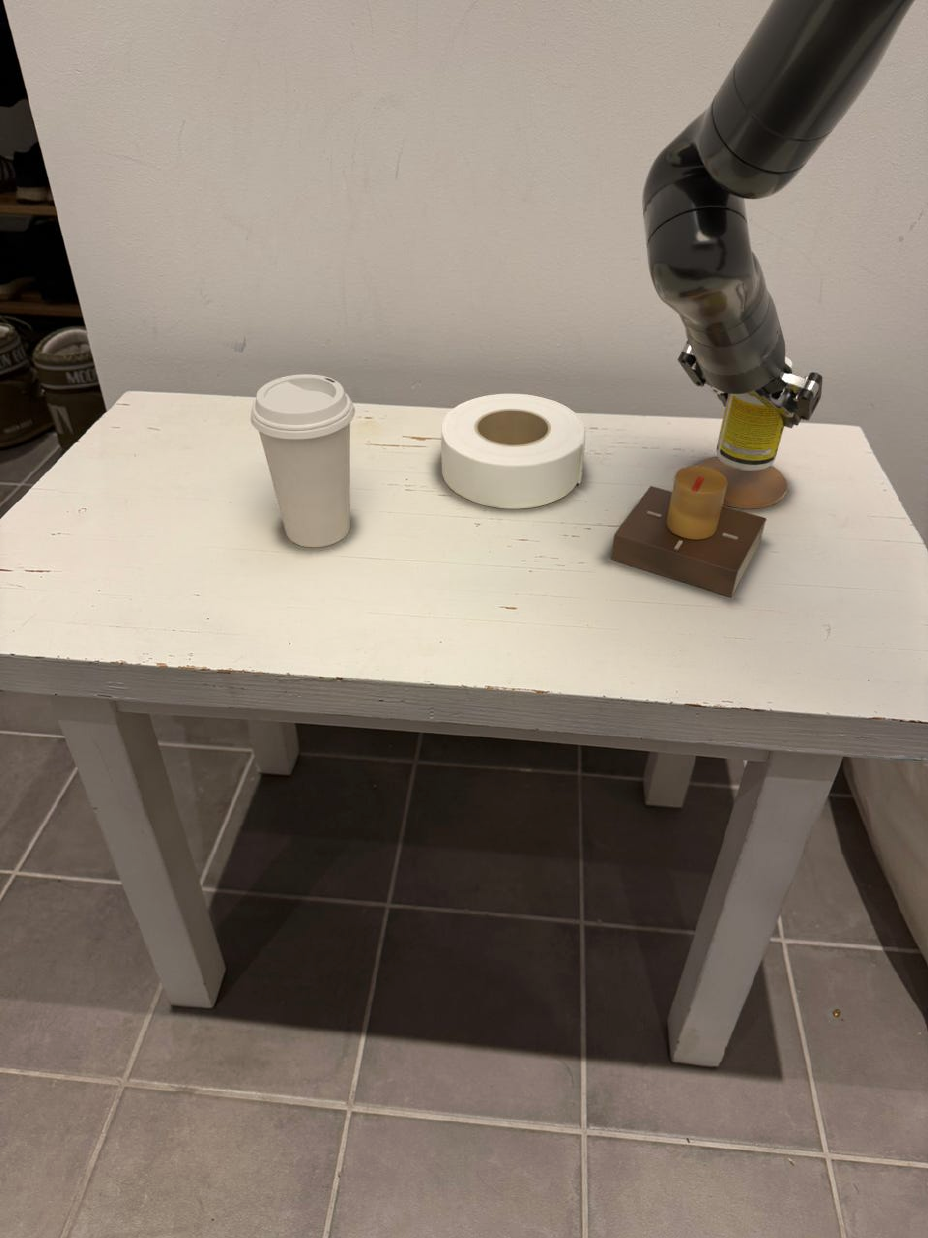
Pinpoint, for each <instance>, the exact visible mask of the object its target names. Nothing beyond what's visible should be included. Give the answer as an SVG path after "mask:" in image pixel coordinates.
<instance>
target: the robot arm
mask: <svg viewBox="0 0 928 1238" xmlns="http://www.w3.org/2000/svg"><path fill="white" fill-rule="evenodd" d="M915 1H916V0H772V1H771V3H770V4H769V6H768V7H767V9H766V11H765V12H764V15H763V16H762V17H761V19H760V21H759V23H758V24H757V26H756V28H755V29H754V31H753V32H752V34H751V36H750V38H749V39H748V41H747V42H746V44H745V45H744V47H743V49H742V50H741V52H740V53H739V55H738V57H737V59H736V60H735V62H734V63H733V65H732V67H731V68H730V70H729V72H728V73H727V75H726V76H725V78H724V80H723V82H722V83H721V85H720V86H719V88H718V90H717V92H716V94H715V95H714V96H713V99H712V101H711V102H710V104H709V106H708V107H707V108H706V109H705V110H704V111H703V112H701V113H700V114H699V115H697V117H695V119H693V120H692V121H691V122H690V123H689V124H688V125H687V126H686V127H685V128H684V129H683V130H682V131H681V132H680V133H679V134H678V135H676V136H675V138H673V139H672V140H671V141H670V142H669V143H668V144H667V145H666V146H665V147H664V148H663V149H662V150H661V151H660V152H659V154H658V155H657V156H656V157H655V159H654V161H653V162H652V164H651V166H650V168H649V170H648V172H647V175H646V178H645V182H644V185H643V189H642V195H641V209H642V218H643V226H644V227H643V228H644V236H645V245H646V257H647V265H648V271H649V275H650V278H651V282H652V285H653V287H654V289H655V292H656V294H657V296H658V298H659V299H660V300H661V302H663V303H664V304H665V305H667V306H668V307H669V308H671V309H672V310H673V311H674V312H675V313H676V314H678V316H679V318H680V320H681V322H682V324H683V327H684V329H685V336H686V339H687V340H686V342H685V344H684V346H683V348H682V350H681V351H680V353H679V356H678V358H677V362H678V363H679V364H680V366H681V367H682V369H683V370H684V372H685V373H686V374H687V376H688V377H689V379H690V380H691V382H692V383H693V384H694V385H695V386H697V387H700V388H701V387H702V388H703V387H705V384H706V385H707V386H709V387H710V388H709V391H711V392H712V393H713V394H714V395H716V396H717V398H718V400H719V401H720V402H721V403H722V404H723V405H722V406H723V407H724V408H725V407H726V403H727V399H728V394H729V393H730V394H743V393H748V394H749V395H750V396H755V397H756V398H757V399H758V400H759V401H761V402H762V403H763V404H764V405H765V406H766V407H767V408H774V409H777V410H778V411H779V412H780V413H781V417H782V420H783V423H784V428H785V427H786V428H788V429H792V428H794V426H795V427H796V426H799V424H800V423H801V420H802V421H810V419H811V418H812V415H813V414H814V411H815V410H816V408H817V407H818V404H819V402H820V400H821V399H822V392H823V380H824V379H823V376H822V375H821V374H820V373H818V372H811V371H810V372H809V374H808V375H805V376H804V377H802V376H800V375H796V374H793V368H792V369H791V368H790V367H789V366H788V365H787V364H786V363H785V357H786V341H785V338H784V334H783V329H782V327H781V324H780V323H781V322H780V318H779V315H778V312H777V311H778V310H777V308H776V304H775V301H774V299H773V297H772V295H771V293H770V292H769V290H768V288H767V282H766V279H765V275H764V271H763V269H762V266H761V264H760V261H759V259H758V257H757V256H756V254H755V253H754V251H753V250H752V246H751V237H750V229H749V225H748V217H747V210H746V209H747V208H746V202H745V199H746V200H761V199H766V198H769V197H772V196H773V195H775V194H777V193H779V192H781V190H783V189H784V188H785V187H787V186H788V185H789V184H790V183H791V182H792V181H793V180H794V179H795V178H796V176H797V175H798V174H799V173H800V172H801V171H802V170H803V169H804V167H805V166H806V165H807V163H808V162H809V161H810V160H811V159H812V157H813V156H814V155H815V153H816V152H818V150H819V149H820V147H821V146H822V145H823V144H824V142H825V141H826V140H827V139H828V137H829V136H830V135H831V134H832V132H833V131H834V130H835V128H836V127H837V126H838V125H839V124H840V122H841V121H842V120H843V118H844V117H845V116H846V115H847V113H848V112H849V111H850V109H851V108H852V107H853V105H854V104H855V102H856V101H857V100H858V98H859V96H860V95H861V94H862V92H863V91H864V90H865V88H866V87H867V85H868V83H869V82H870V80H871V79H872V77H873V75H874V74H875V72H876V71H877V70H878V67H879V66H880V64H881V62H882V60H883V58H884V56H885V55H886V53H887V51H888V50H889V48H890V45H891V44H892V42H893V40H894V38H895V35H896V34H897V32H898V30H899V28H900V26H901V24H902V22H903V20H904V19H905V17H906V15H907V14H908V12H909V10H910V9H911V7H913V4H914V3H915ZM769 394H771V396H770V395H769ZM787 394H789V397H788V399H787V401H786V403H785V398H786V396H787Z"/></svg>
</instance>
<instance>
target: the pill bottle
mask: <svg viewBox="0 0 928 1238" xmlns="http://www.w3.org/2000/svg"><path fill="white" fill-rule="evenodd" d="M785 363H786V364H787V365H788V366H789V367H790V368H791V369H792V370H793V367H794V363H793V361H792V360H791V359H790V358H788V357H787V356H785ZM769 395H770V396H771V394H769ZM788 397H789V394H787V396H786V398H785V403H786V401H787V399H788ZM784 429H785V426H784V423H783V420H782V417H781V413H780V412H779V411H778V410H777V409H774V408H767V407H766V406H765V405H764V404H763V403H762V402H761V401H759V400H758V399H757V398H756V397H755V396H750V395H749V394H748V393H743V394H730V393H729V394H728V399H727V403H726V407H724V413H723V417H722V421H721V426H720V429H719V435H718V439H717V445H716V457H718V458H719V459H720V460H721V461H722V462H723V463H724V464H725V465H727V466H729V467H732V468H735V469H739V470H745V471H759V470H763V469H766V468H768V467H770V466H772V465H773V464H774V462H775V460H776V458H777V454H778V451H779V447H780V443H781V439H782V436H783V432H784Z"/></svg>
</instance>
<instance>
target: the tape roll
mask: <svg viewBox="0 0 928 1238" xmlns="http://www.w3.org/2000/svg"><path fill="white" fill-rule="evenodd" d="M440 426H441V427H440V447H441V449H440V450H441V454H440V455H441V458H440V459H441V475H442V477H443V480H444V482H445V483H446V485H447V486H448V487H449V488H450V489H451V490H452V491H453V492H454V493H455V494H457V495H459V496H461V497H462V498H464V499H466V500H468V501H470V502H473V503H476V504H479V505H483V506H486V507H491V508H492V507H493V508H499V509H515V510H516V509H529V508H530V509H531V508H536V507H541V506H546V505H548V504H551V503H554V502H557V501H559V500H560V499H562V498H564V497H566V496H567V495H568V494H570V493H571V492H572V491H573V490H574V488H576V486H577V485H581V482H582V477H583V476H582V475H583V469H584V467H583V466H584V457H585V449H586V448H585V447H586V426H585V424H584V423H583V421H582V419H581V418H580V416H579V414H578V413H576V412H575V411H573V410H572V409H571V408H569V407H568V406H566V405H564V404H562V403H559V402H558V401H555V400H552V399H549V398H546V397H542V396H537V395H533V394H525V393H524V394H523V393H498V394H497V393H495V394H488V395H483V396H479V397H478V396H477V397H475V398H472V399H469V400H466V401H463V402H462V403H460V404H458V405H456V406H455V407H453V408H452V409H450V410H449V411H448V412H447V413H446V414H445V416H444V418H443V420H442V421H441V425H440Z"/></svg>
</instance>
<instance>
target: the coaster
mask: <svg viewBox="0 0 928 1238" xmlns="http://www.w3.org/2000/svg"><path fill="white" fill-rule="evenodd" d="M697 466H702V467H708V468H711V469H714V470H716V471H718V472H720V473H721V474H723V475H724V476H725V478H726V479H727V487H726V492H725V496H724V500H723V506H727V507H731V508H737V509H738V508H739V509H762V508H767V507H770V506H773V505H775V504H777V503H779V502H781V501H782V500H783V499H784V497H785V496H786V493H787V490H788V482H787V479H786V478H785V476H784V475H783V473H781V472H780V471H779V470H778V469H777V468H775V467H774V466H772V465H771V466H770V467H768V468H766V469H763V470H759V471H745V470H739V469H735V468H732V467H729V466H727V465H725V464H724V463H723V462H722V461H721V460H720V459H719V458H718V456H714V457H710V458H707V459H705V460H703V461H701V462H700V463H698V464H697Z"/></svg>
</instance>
